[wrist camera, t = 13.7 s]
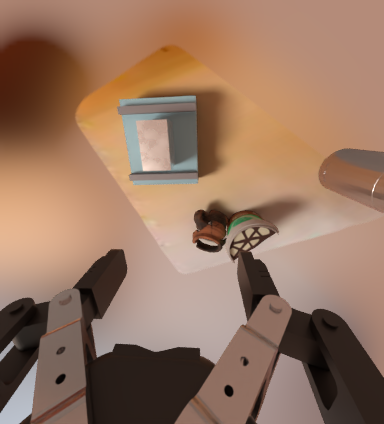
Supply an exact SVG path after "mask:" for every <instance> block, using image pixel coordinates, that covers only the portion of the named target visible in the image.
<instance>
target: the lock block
mask: <svg viewBox="0 0 384 424" xmlns="http://www.w3.org/2000/svg"><path fill="white" fill-rule="evenodd" d="M136 126H137V133H138V139H139V146H140V153H141V160H142V167H143V171H164V170H172V169H173V167H174V166H175V165H176V164H175V150H174V136H173V123H172V121H170V120H167V119H162V120H141V121H136Z"/></svg>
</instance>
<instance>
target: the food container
mask: <svg viewBox="0 0 384 424" xmlns="http://www.w3.org/2000/svg"><path fill="white" fill-rule="evenodd" d="M228 223H229V225H228V227H227V235H228V236H227V239H226V245H225V247H226V251H227V254H228V255H229V257H230V259H231V260H232V261H233V262H234V260H235V259H237V258H238V257H239V251H244V252H248V251H250V250H251V249H253V248H255V247H256V246H258V245H259V244H260V243H261V242H263V241H264V240H265V239H267V238H268V237H270V236H272V235H273V234H275V233H277V234H278V233H279V231H278V228H277V227H276V226H275V225H273V224H272V223H270V222H268V221H265V220H264V219H262V218H261V217H260V216H259V215H258V214H257V213H255V212H253V211H248V210H245V211H240V212H237V213H235V214H234V215H233V216H232V217H231V218H230V219H229V221H228ZM278 235H279V234H278Z"/></svg>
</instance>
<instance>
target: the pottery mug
mask: <svg viewBox="0 0 384 424" xmlns="http://www.w3.org/2000/svg"><path fill="white" fill-rule="evenodd" d="M194 221H195V223H196V226H197V229H198V230H200V231H199V232H198V230H196V231H195V232H194V233H193V240H192V241H193V243H197V245H196V247H197V248H199V249H201V250H203V251H207V252H219V251H220V250H221V249H222V248H223V247H222V246H223V245H224V244H225V243H226V239H227V238H226V239H224V240H222V239H223V238H224V237H225V236H226V232H227V231H226V230H225V229H226V226H227V227H228V225H229V223H228V218H227V217H226V216H225V215H224V214H223V213H221V212H219V211H215V210H211V211H210V213H207V212H205V211H204V210H198V211H197V212H195V215H194ZM210 221H211V224H212V225H210V224H209V223H208V222H210ZM199 238H203V239H208V240H211V241H213V242H215V243H216V244H218V246H210V245H208V244H204V243H202V242H201V241H200V240H199Z"/></svg>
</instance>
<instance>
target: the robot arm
mask: <svg viewBox="0 0 384 424" xmlns="http://www.w3.org/2000/svg"><path fill="white" fill-rule="evenodd" d="M319 179H320V182H321V184H322V185H323V186H324V187H325V188H327V189H330V190H332V191H334V192H336V193H338V194H341V195H343V196H345V197H347V198H350V199H352V200H354V201H357V202H359V203H361V204H363V205H366V206H368V207H370V208H373V209H375V210H377V211H379V212H382V213H384V152H376V151H366V150H358V149H342V150H339V151H336V152H334V153H333V154H331V155H330V156H329V157H328V158H327V159H326V160H325V161H324V162H323V164H322V166H321V168H320V171H319ZM237 269H238V270H237V275H238V282H239V286H240V291H241V295H242V299H243V304H244V308H245V312H246V317H247V324H246V325H241V326H240V328H239V329H238V331H237V332H236V334H235V335H234V337H233V339H232V340H231V342H230V343H229V345H228V347H227V348H226V350H225V351H224V353H223V354H222V356H221V357H220V359H219V361H218V362H217V364H216V365H215V364H214V363H213V362H211V361H210V360H208V359H206V358H204V357H202V356H200V348H185V347H177V348H173V349H168V350H164V351H159V352H153V351H151V350H148V349H145V348H143V347H140V346H138V345H130V344H129V345H128V344H115V346H114V349H113V352H109V353H107V354H104V355H102V356H100V357H98V358H97V355H96V349H95V343H94V336H93V330H92V325H91V322H92V320H93V319H102V317H103V316H104V314H105V312H106V310H107V308H108V307H109V305H110V303H111V301H112V299H113V298H114V296H115V294H116V292H117V291H118V289H119V287H120V285H121V284H122V282H123V280H124V278H125V276H126V274H127V264H126V260H125V255H124V251H123V250H122V249H111V250H110V251H109V252H108V253H107V255H106V256H103V257H101V258H100V259H98V260H97V261H96V262H95V263H94V264H93V265H92V266H91V268H90V269H89V270H88V271H87V273H85V274H84V275H83V277H82V278H81V279H80V280H79V282H77V284H76V285H75V286H74V287H73V288H72V289H67V290H64V291H62V292H60V293H59V294H57V295H56V296H55V297H53V299H52V300H51V301H49V302H44V303H40V304H35V302H34V300H33V299H32V298H22V299H19V300H17V301H15V302H12V303H11V304H9V305H8V306H6V307H5V308H4V309H2V310H1V311H0V353H1V352H2V351H3V350H4V349H5V348H6V347H7V345H8V344H9V343H10V342H11V341H13V343H14V344H15V345H14V346H13V348H12V349H11V350H10V351H9V352H8V353H7V355H6V356H5V357H4V358H3V359H2V360H1V362H0V413H1V411H2V410H3V408H4V407H5V405H6V404H7V402H8V401H9V400H10V398H11V397H12V395H13V394H14V392H15V391H16V389H17V388H18V387H19V385H20V384H21V382H22V381H23V379H24V378H25V376H26V375H27V374H28V372H29V371H30V369H31V368H32V366H33V365H34V364H35V362H36V361H37V359H38V364H37V373H36V382H35V390H34V399H33V408H32V413H31V414H30V415H29V416H28V417H27V418H26V419H24V420H23V421H22V422H21V423H20V424H257V423H256V420H257V417H258V415H259V412H260V410H261V407H262V404H263V401H264V398H265V395H266V392H267V389H268V386H269V383H270V380H271V378H272V375H273V373H274V370H275V367H276V365H277V362H278V360H279V357H280V354H281V353H282V354H285V355H287V356H290V357H292V358H295V359H298V360H300V361H302V364H303V366H304V369H305V372H306V375H307V377H308V380H309V383H310V385H311V388H312V391H313V393H314V396H315V399H316V402H317V404H318V407H319V410H320V412H321V415H322V418H323V420H324V423H325V424H384V377H383V376H382V375H381V373H380V372H379V370H378V369H377V367H376V366H375V364H374V363H373V361H372V360H371V358H370V357H369V355H368V354H367V353H366V351H365V350H364V348H363V347H362V345H361V344H360V342H359V341H358V340H357V338H356V336H355V335H354V333H353V332H352V331H351V329H350V328H349V326H348V325H347V323H346V322H345V321H344V320H343V319H342V318H341V317H340V316H338V315H337V314H335V313H333V312H331V311H328V310H325V309H316V310H314V311H313V312H312V315H311V314H307V313H304V312H301V311H298V310H295V309H293V308H291V307H290V305H289V304H288V303H287V302H286V301H285V300H284V299H283V298H281V297H280V296H279V294H278V291H277V289H276V287H275V285H274V283H273V281H272V278H271V277H270V274H269V272H268V270H267V267H266V265H265V264H264V263H263V262H262V261H261V260H260V259H254V258H253V255H252V253H251V252H244V251H239V257H238V268H237Z"/></svg>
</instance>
